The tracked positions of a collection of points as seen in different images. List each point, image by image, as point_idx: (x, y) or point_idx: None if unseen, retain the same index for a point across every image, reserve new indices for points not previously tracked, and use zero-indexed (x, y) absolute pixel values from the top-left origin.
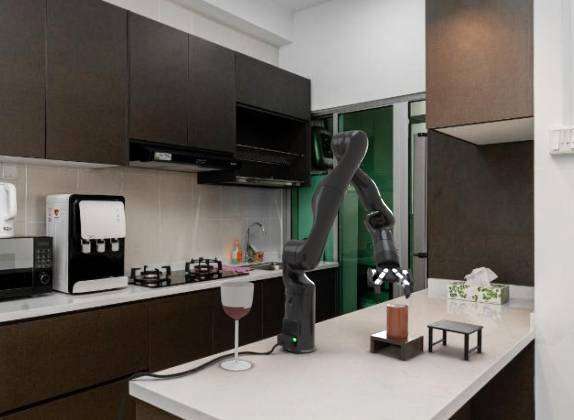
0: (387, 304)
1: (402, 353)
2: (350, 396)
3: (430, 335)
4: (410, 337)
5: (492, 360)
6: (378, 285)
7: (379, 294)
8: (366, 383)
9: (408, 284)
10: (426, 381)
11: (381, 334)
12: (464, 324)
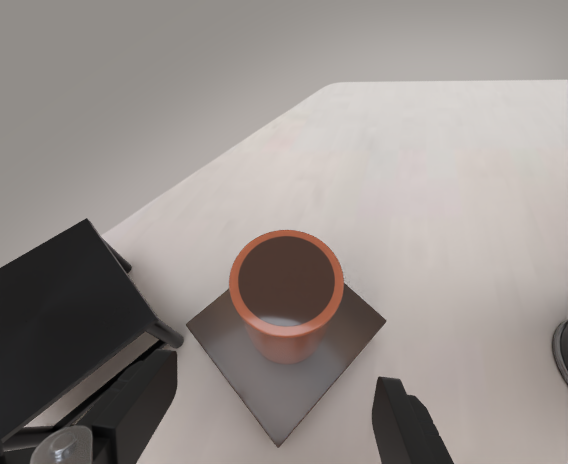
0: (335, 306)
1: None
2: (427, 114)
3: (161, 321)
4: None
5: None
6: (424, 460)
7: (390, 379)
8: (401, 150)
9: (64, 433)
10: (293, 158)
11: (342, 336)
12: None
